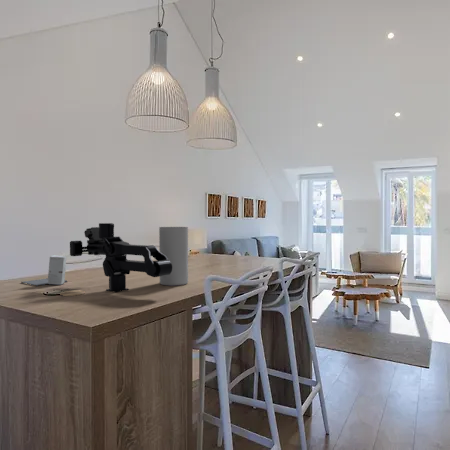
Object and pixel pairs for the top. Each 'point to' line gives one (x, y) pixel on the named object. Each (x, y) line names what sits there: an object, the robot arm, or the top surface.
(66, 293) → the cork coaster
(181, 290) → the top surface
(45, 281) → the felt mat
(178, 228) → the cylinder vase
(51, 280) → the skincare box
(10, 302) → the top surface
